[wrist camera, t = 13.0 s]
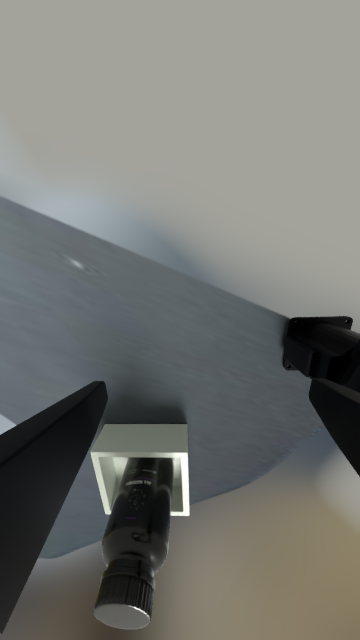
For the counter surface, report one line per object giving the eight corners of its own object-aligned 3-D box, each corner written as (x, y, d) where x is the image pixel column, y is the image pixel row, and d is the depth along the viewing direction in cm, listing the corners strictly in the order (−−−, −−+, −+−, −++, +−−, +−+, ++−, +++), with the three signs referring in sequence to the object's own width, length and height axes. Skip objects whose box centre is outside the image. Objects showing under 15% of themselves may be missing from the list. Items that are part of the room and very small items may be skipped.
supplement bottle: (149, 436, 24) (117, 588, 13) (183, 463, 26) (182, 622, 14) (117, 460, 26) (64, 614, 14) (151, 484, 27) (127, 643, 16)
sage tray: (187, 424, 25) (187, 452, 21) (188, 482, 28) (189, 515, 24) (104, 424, 25) (90, 452, 22) (116, 481, 29) (105, 514, 25)
